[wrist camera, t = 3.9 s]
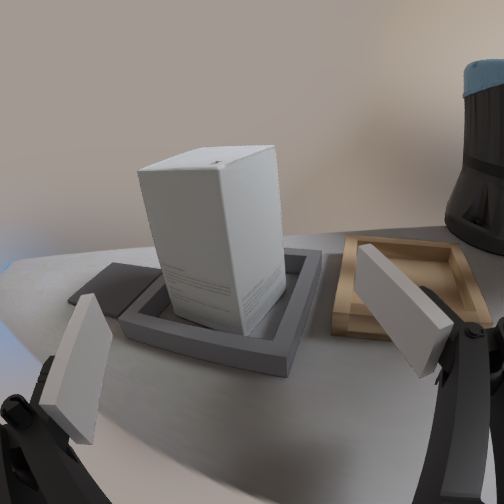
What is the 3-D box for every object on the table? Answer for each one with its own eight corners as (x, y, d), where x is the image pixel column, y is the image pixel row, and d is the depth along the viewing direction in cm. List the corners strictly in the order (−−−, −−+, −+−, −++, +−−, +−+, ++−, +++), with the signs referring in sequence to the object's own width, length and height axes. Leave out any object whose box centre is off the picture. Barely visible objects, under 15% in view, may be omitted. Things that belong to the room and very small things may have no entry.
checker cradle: (194, 257, 34) (191, 241, 33) (321, 268, 29) (321, 250, 28) (120, 335, 23) (112, 317, 22) (287, 377, 18) (286, 357, 17)
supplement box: (289, 289, 27) (280, 143, 21) (243, 343, 21) (216, 166, 15) (221, 272, 31) (201, 145, 25) (171, 314, 25) (133, 168, 19)
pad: (113, 265, 34) (112, 262, 34) (164, 272, 31) (163, 269, 31) (68, 302, 28) (67, 299, 27) (118, 319, 25) (117, 315, 25)
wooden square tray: (345, 253, 31) (346, 234, 30) (454, 262, 27) (458, 243, 26) (330, 334, 21) (332, 311, 20) (483, 344, 17) (493, 322, 16)
